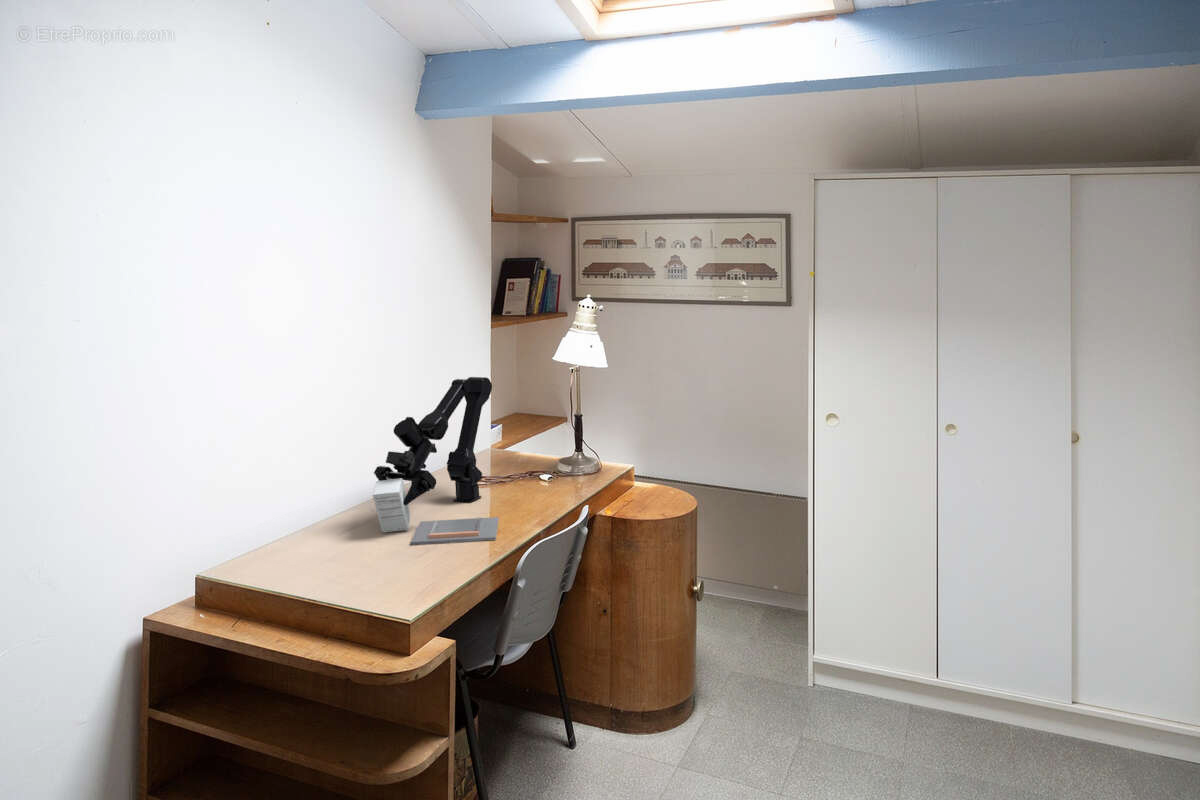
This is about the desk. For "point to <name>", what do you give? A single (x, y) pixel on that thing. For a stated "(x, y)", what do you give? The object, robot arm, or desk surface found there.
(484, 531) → the rail stand
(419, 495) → the robot arm
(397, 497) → the supplement box
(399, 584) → the desk surface
